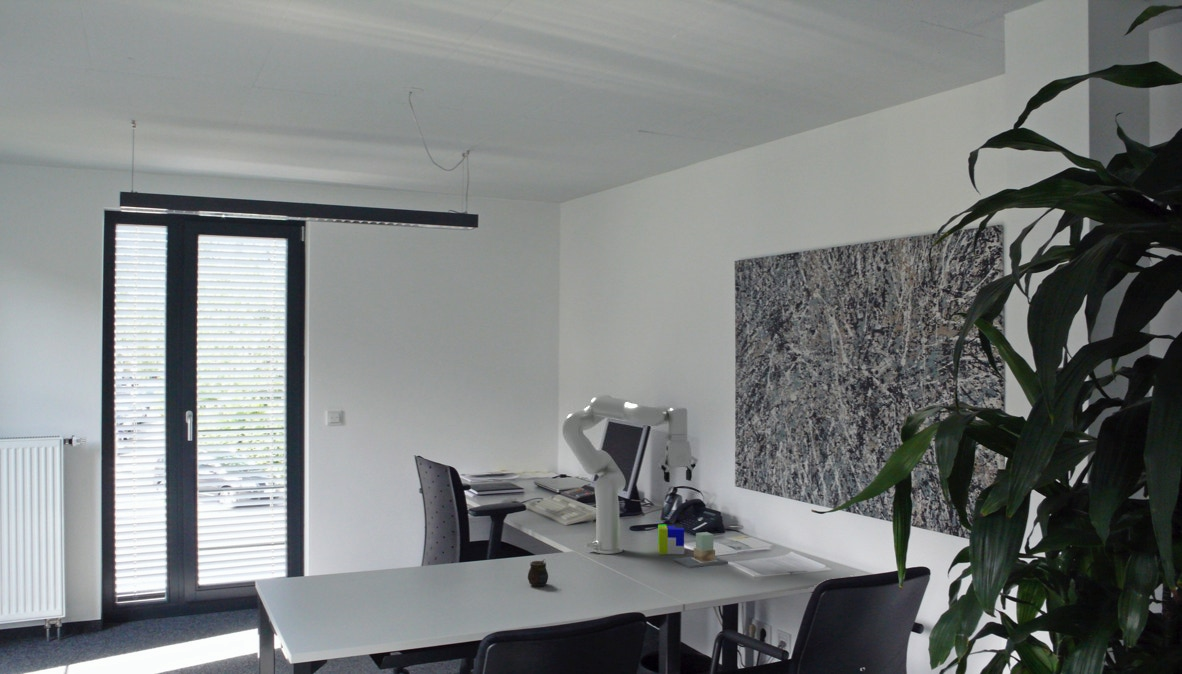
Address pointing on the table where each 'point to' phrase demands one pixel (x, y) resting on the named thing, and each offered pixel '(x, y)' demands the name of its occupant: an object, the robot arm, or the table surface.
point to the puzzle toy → (670, 539)
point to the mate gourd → (538, 573)
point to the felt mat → (699, 562)
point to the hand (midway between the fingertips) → (677, 480)
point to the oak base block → (704, 555)
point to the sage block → (704, 541)
